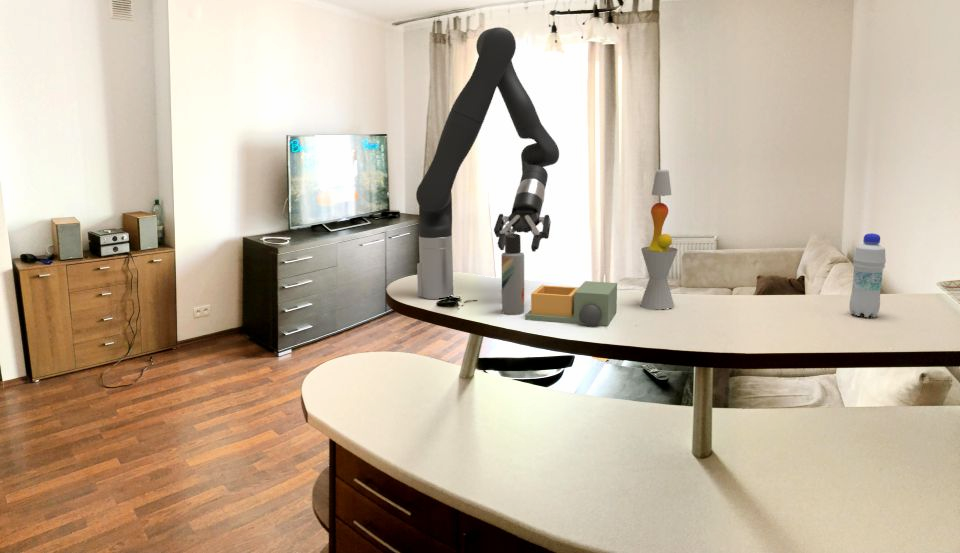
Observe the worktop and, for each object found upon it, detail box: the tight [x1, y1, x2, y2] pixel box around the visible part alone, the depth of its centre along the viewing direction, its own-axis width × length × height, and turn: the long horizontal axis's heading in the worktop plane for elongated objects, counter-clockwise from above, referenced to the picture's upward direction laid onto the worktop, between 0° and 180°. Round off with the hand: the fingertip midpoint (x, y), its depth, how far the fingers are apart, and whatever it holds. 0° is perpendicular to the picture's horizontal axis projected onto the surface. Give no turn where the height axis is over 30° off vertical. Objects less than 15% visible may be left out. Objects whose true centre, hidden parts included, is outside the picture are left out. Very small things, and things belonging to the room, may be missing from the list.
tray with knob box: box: [524, 280, 618, 328], centre depth 161 cm, size 20×16×8 cm
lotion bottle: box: [501, 233, 525, 315], centre depth 165 cm, size 6×6×20 cm
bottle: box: [849, 232, 887, 318], centre depth 156 cm, size 7×7×20 cm
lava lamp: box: [639, 169, 678, 310], centre depth 167 cm, size 9×9×35 cm
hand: (517, 249), depth 167 cm, fingers open, 8 cm apart
